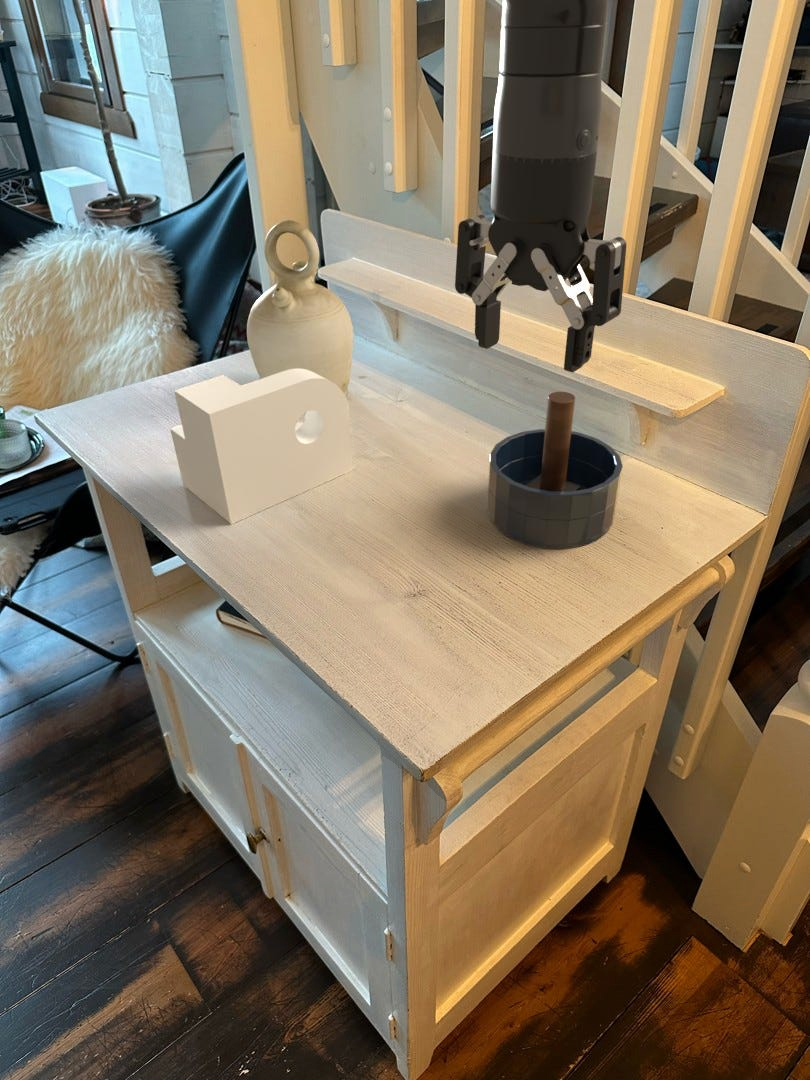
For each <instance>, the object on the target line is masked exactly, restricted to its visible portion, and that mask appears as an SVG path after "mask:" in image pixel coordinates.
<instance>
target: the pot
mask: <svg viewBox="0 0 810 1080" xmlns="http://www.w3.org/2000/svg"><path fill="white" fill-rule="evenodd" d="M544 437H545V428H539V429H533V430H525V431H520V432H517V433H515V434H514V433H513V434H512V435H509V436H507V437H505V438H503V439H502V440H500V441H499V442H497V443H495V445H494V447H493V448H492V450H491V451H490V453H489V463H488V483H487V484H488V487H487V488H488V489H487V515H488V518H489V521H490V522H491V524H492V525H493V526H494V527H495V528H496V529H497V530H498V531H499V532H500V533H501V534H503V535H504V536H506V537H508V538H509V539H511V540H513V541H515V542H518V543H521V544H523V545H527V546H532V547H535V548H542V549H552V550H553V549H554V550H560V549H564V550H565V549H573V548H578V547H583V546H586V545H589V544H592V543H594V542H596V541H598V540H599V539H601V538H602V537H604V536H605V535H606V534H607V533H608V532H609V531H610V529H611V528H612V526H613V523H614V519H615V515H616V509H617V504H618V498H619V492H620V491H619V490H620V486H621V481H622V480H621V479H622V473H623V466H624V465H623V462H622V459H621V455H620V454H619V453H618V452H616V450H615V449H614V448H613V447H612V446H610V445H609V444H608V443H606V442H604V441H602V440H601V439H599V438H597V437H594V436H591V435H588V434H585V433H582V432H580V431H573V430H572V431H571V440H570V449H569V458H568V466H567V475H566V481H569V482H571V483H574V484H577V485H579V486H581V488H580V490H578V491H571V492H558V491H546V490H540V489H535V488H530V487H528V486H526V485H527V484H528V483H530V482H531V481H532V480H534V479H535V478H536V477H538V476H539V475H540V474H541V470H542V459H543V448H544Z"/></svg>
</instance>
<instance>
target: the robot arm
mask: <svg viewBox="0 0 810 1080" xmlns="http://www.w3.org/2000/svg"><path fill="white" fill-rule="evenodd" d="M609 2H610V0H501V3H502V5H501V19H500V26H501V27H500V42H499V43H500V45H499V47H500V48H499V68H498V69H499V73H498V82H497V90H496V95H495V102H494V109H493V110H494V111H493V131H492V157H491V158H492V160H491V185H490V186H491V188H490V210H491V212H492V213H493V218H492V221H490V220H488V219H487V217H486V215H484V214H478V215H475V216H471V217H469V218H466V219H464V220H462V221H460V222H459V224H458V229H457V243H456V244H457V245H456V259H455V261H456V262H455V280H454V289H455V291H456V292H457V293H458V294H460V295H464V294H465V295H467V296H468V297H470V298H471V301H472V303H473V304H474V305H475V306H474V307H475V309H474V310H475V311H474V336H475V339H476V340H477V341H478V343H477V344H478V347H479V348H481V349H485V350H488V349H490V348H492V347H494V346H495V345H497V344H498V343H499V340H500V329H501V328H500V327H501V308H502V301H501V300H498V299H497V298H498V297H500V295H501V293H502V292H503V291H504V290H505V288H506V287H507V286H508V285H509V283H510V282H511V285H512V286H513V285H514V286H518V287H523V286H529V287H531V288H532V289H534V290H536V291H541V292H547V291H549V293H550V295H551V297H552V299H553V301H554V302H555V304H556V305H558V306H560V307H561V308H562V310H563V312H564V314H565V316H566V318H567V320H568V322H569V324H570V326H569V327H567V330H566V331H567V332H566V340H565V351H564V359H563V360H564V362H563V370H564V371H566V372H570V373H576V371H578V370H580V369H582V368H583V366H584V365H585V364H587V363H588V362H589V361H590V360H591V358H592V352H593V351H592V349H593V342H594V336H595V328H596V327H602V326H604V325H605V324H608V323H609V322H611V321H612V320H614V319H615V318H617V317H618V316H620V314H621V312H622V302H623V292H624V282H625V281H624V279H625V267H626V257H627V256H626V255H627V242H626V240H625V239H624V238H623V237H621V236H617V237H614V238H612V239H610V240H603V239H594V238H591V237H590V233H589V230H588V220H589V217H590V213H591V208H592V202H593V201H592V200H593V193H594V184H595V175H596V174H595V173H596V164H597V155H598V146H599V137H600V129H601V120H602V119H601V118H602V105H603V104H602V102H603V100H602V98H603V96H602V95H603V94H602V79H603V71H602V70H603V66H604V58H605V47H606V39H607V38H606V37H607V29H608V20H609V19H608V18H609V17H608V16H609V6H610V5H609V4H610V3H609ZM488 244H490V246H491V248H492V250H493V252H494V254H495V256H496V258H495V259H494V261H493V262H492V263H491V265H490V266H489V267H488V269H487V270H486V272H485V273H484V271H485V262H486V261H485V260H486V249H487V245H488ZM586 257H587V258H588V260H589V269H590V270H592V271H593V272H594V273H593V285H592V286H593V287H592V288H593V289H592V294H591V292H590V288H591V285H590V282H589V280H588V277H587V276H586V274H585V272H584V270H583V267H582V265H581V263H582V261H583V260H584V259H585V258H586ZM567 279H568V283H569V285H570V286H568V285H567V283H566V281H567Z"/></svg>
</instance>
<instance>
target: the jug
mask: <svg viewBox="0 0 810 1080" xmlns="http://www.w3.org/2000/svg"><path fill="white" fill-rule="evenodd" d="M287 233H288V234H293V235H295V236H297V237H298V238H299V239H300V240H301V241H302V242H303V244H304V247H305V248H306V251H307V261H306V260H305V261H304V260H303V261H300V260H299V261H296V262H293V263H292V268H291V267H288V266H286V265H285V264H284V263H282V261H281V260H280V258H279V256H278V252H277V243H278V240H279V239H280V238H281V236H282V235H285V234H287ZM263 253H264V257H265V261H266V263H267V266H268V267H269V268H270V270H271V271H272V272H273V273H274V274H275V275H276V276H277V282H276V283H275V285H273V286H272V287H269V289H267V290H266V291H264V293H263V294H262V295H260V297H258V299H256V300H255V302H254V303H253V304H252V307H251V308H250V311H249V315H248V319H247V323H246V338H247V339H246V340H247V345H248V349H249V353H250V356H251V358H252V361H253V364H254V367H255V370H256V372H257V374H258V376H259V379H262V378H265V377H268V376H271V375H274V374H277V373H280V372H283V371H286V370H289V369H296V368H298V369H306V370H309V371H312V372H314V373H316V374H318V375H320V376H322V377H324V378H326V379H327V380H329V381H331V382H333V383H335V384H336V385H337V386H338V387H339V388H340V389H341V390H342V391H343V393H344V394H345V396H346V397H347V395H348V391H349V389H348V387H349V384H350V380H351V374H352V373H351V372H352V364H353V363H352V362H353V355H354V353H353V352H354V340H355V334H354V327H353V321H352V317H351V315H350V313H349V311H348V309H347V307H346V306H345V304H344V302H343V300H342V299H341V298H340V297H339V296H338V295H337V294H336V293H335V292H333V291H332V290H330V289H328V288H327V287H325V286H323V285H321V284H319V283H316V282H315V278H316V276H317V273H318V272H319V263H320V249H319V244H318V242H317V240H316V238H315V236H314V234H313V233H312V232H311V230H310V229H308V227H307V226H305V225H304V224H302V223H300V222H298V221H295V220H291V219H288V220H283V221H280V222H278V223H276V224H275V225H274V226H272V227H271V228H270V230H269V231H268V233H267V235H266V236H265V240H264V244H263Z"/></svg>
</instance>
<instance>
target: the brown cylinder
mask: <svg viewBox="0 0 810 1080" xmlns="http://www.w3.org/2000/svg"><path fill="white" fill-rule="evenodd" d="M575 404H576V396H575V395H574V394H573V393H571V392H569V391H568V392H567V391H554V392H551V393H549V394H548V396H547V405H546V414H545V415H546V416H545V428H544V429H545V437H544V448H543V459H542V470H541V474H540V475H539V476H538V477H536V478H535V479H534V480H532V481H531V482H530V483H528V484H527V485H526V486H528V487H530V488H535V489H540V490H546V491H558V492H571V491H578V490H580V488H581V486H579V485H577V484H574V483H571V482H569V481H566V475H567V466H568V458H569V449H570V440H571V431H573V421H574V414H575V413H574V411H575Z"/></svg>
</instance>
